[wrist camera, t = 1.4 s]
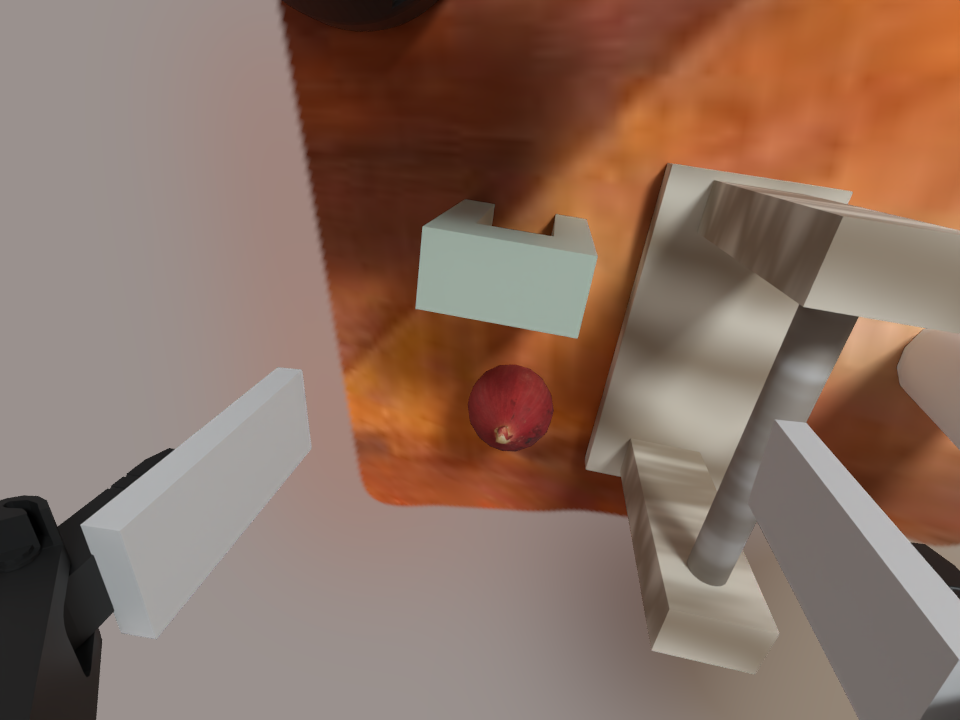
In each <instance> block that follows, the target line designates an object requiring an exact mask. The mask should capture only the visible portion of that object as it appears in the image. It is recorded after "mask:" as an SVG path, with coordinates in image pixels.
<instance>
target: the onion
mask: <svg viewBox="0 0 960 720" xmlns="http://www.w3.org/2000/svg"><path fill="white" fill-rule="evenodd" d="M468 410H469V418H470V422H471V425H472V426H473V428H474V430H475V431H476V433H477V435H478V436H479V437H480V438H481V439H482V440H483V441H484V442H486V443H487V444H488V445H489V446H491V447H494V448H496V449H499V450H502V451H518V450H521V449H524V448H527V447H530V446H532V445H533V444H534V443H535V442H537V441H538V440H539V439H540V438H541V437H542V436H543V435H544V434H545V433H546V432H547V430H548V427H549V424H550V422H551V419H552V416H553V411H554V410H553V403H552V396H551V393H550V392H549V390H548V388H547V386H546V385H545V383H544V381H543V379H542V378H541V377H540V376H538V375H537V374H536V373H535V372H533V371H532V370H531V369H528V368H525V367H522V366H518V365H499V366H497V367H495V368H493V369H490V370H488V371H486V372H485V373H484V374H483V375H482V376H481V377H480V379H479V380H478V381H477V382H476V383H475V385H474V386H473V389H472V392H471V394H470V397H469V401H468Z"/></svg>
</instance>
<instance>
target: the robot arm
mask: <svg viewBox="0 0 960 720" xmlns="http://www.w3.org/2000/svg"><path fill="white" fill-rule="evenodd" d="M282 1H284V2H285V3H286V4H288V5H289V6H291V7H293V8H294V9H296V10H298V11H300V12H301V13H304V14H306V15H308V16H310V17H312V18H314V19H316V20H318V21H320V22H322V23H325V24H327V25H330V26H333V27H336V28H340V29H345V30H350V31H378V30H384V29H388V28H392V27H395V26H398V25H401V24H403V23H406V22H408V21H410V20H412V19H414V18H415V17H417V16H419V15H420V14H422V13H423V12H425V11H426V10H428V9H429V8H430V7H431V6H433V5H434V4H435V3H436V2H437V1H438V0H282ZM310 450H311V439H310V431H309V422H308V414H307V406H306V397H305V389H304V381H303V373H302V370H298V369H289V368H279V367H278V368H276V369H275V370H274V371H273V372H271V373H270V374H269V375H268V376H266V377H265V378H264V379H263V380H261V381H260V382H259V383H258V384H256V385H255V386H254V387H253V388H251V389H250V390H249V391H248V392H246V393H245V394H244V395H242V396H241V397H240V398H239V399H237V400H236V401H235V402H234V403H233V404H231V405H230V406H229V407H227V408H226V409H225V410H224V411H222V412H221V413H220V414H219V415H218V416H216V417H215V418H214V419H213V420H211V421H210V422H209V423H208V424H206V425H205V426H204V427H202V428H201V429H200V430H199V431H197V432H196V433H195V434H194V435H193V436H191V437H190V438H189V439H188V440H186V441H185V442H184V443H182V444H181V445H180V446H179V447H177V448H176V449H171V448H169V449H167V450H164V451H162V452H160V453H158V454H156V455H154V456H152V457H150V458H148V459H146V460H144V461H143V462H142V463H140V464H139V465H138V466H136V467H135V468H134V469H132V470H131V471H130V472H129V473H127V476H126V477H122V478H121V479H119V480H118V481H117V482H115V484H113V485H112V486H111V489H107V490H105V491H104V492H102V493H101V494H100V495H98V496H97V497H96V498H95V499H93V500H92V501H91V502H89V503H88V504H87V505H85V506H84V507H83V508H82V509H80V510H79V511H78V512H76V513H75V514H74V515H72V516H71V517H70V518H68V519H67V520H66V521H65V522H63V523H62V524H61V525H59V526H58V527H57V525H56V522H55V520H54V517H53V515H52V512H51V510H50V507H49V505H48V502H47V500H44V499H43V498H41V497H38V496H18V497H12V498H7V499H3V500H1V501H0V720H96V713H97V700H98V688H99V674H100V662H101V660H100V659H101V648H102V638H101V634H100V631H99V629H98V627H99V626H100V625H101V624H102V623H103V622H104V621H105V620H106V619H107V618H108V617H109V616H110V615H111V614H112V613H114V615H115V618H116V621H117V623H118V626H119V628H120V631H121V633H124V634H129V635H135V636H140V637H147V638H151V639H157V638H158V637H159V636H160V634H161V633H162V632H163V631H164V629H165V628H166V627H167V626H168V625H169V623H170V622H171V621H172V619H173V618H174V617H175V616H176V615H177V614H178V612H179V611H180V610H181V609H182V607H183V606H184V605H185V604H186V602H187V601H188V600H189V599H190V598H191V596H192V595H193V594H194V593H195V591H196V590H197V589H198V588H199V586H200V585H201V584H202V583H203V581H204V580H205V579H206V578H207V577H208V575H209V574H210V573H211V572H212V570H213V569H214V568H215V567H216V565H217V564H218V563H219V562H220V560H221V559H222V558H223V557H224V556H225V554H226V553H227V552H228V551H229V550H230V548H231V547H232V546H233V545H234V543H235V542H236V541H237V540H238V538H239V537H240V536H241V535H242V534H243V532H244V531H245V530H246V529H247V527H248V526H249V525H250V524H251V522H252V521H253V520H254V519H255V517H256V516H257V515H258V514H259V513H260V511H261V510H262V509H263V508H264V506H265V505H266V504H267V503H268V502H269V500H270V499H271V498H272V497H273V495H274V494H275V493H276V492H277V490H278V489H279V488H280V487H281V485H282V484H283V483H284V482H285V481H286V479H287V478H288V477H289V476H290V474H291V473H292V472H293V471H294V469H295V468H296V467H297V466H298V464H299V463H300V462H301V461H302V459H303V458H304V457H305V456H306V455H307V453H308V452H309V451H310ZM747 503H748V505H749V507H750V509H751V511H752V513H753V515H754V516H755V518H756V520H757V522H758V524H759V526H760V528H761V530H762V532H763V534H764V536H765V538H766V540H767V542H768V543H769V546H770V548H771V549H772V551H773V553H774V555H775V557H776V559H777V561H778V563H779V565H780V567H781V569H782V571H783V573H784V575H785V577H786V579H787V581H788V582H789V584H790V586H791V588H792V590H793V592H794V594H795V596H796V598H797V600H798V602H799V604H800V606H801V608H802V609H803V611H804V614H805V616H806V617H807V619H808V621H809V623H810V625H811V627H812V629H813V631H814V633H815V635H816V637H817V639H818V641H819V643H820V644H821V646H822V649H823V650H824V652H825V654H826V656H827V658H828V660H829V662H830V664H831V666H832V668H833V670H834V672H835V674H836V676H837V677H838V680H839V682H840V683H841V685H842V687H843V689H844V691H845V693H846V695H847V697H848V699H849V701H850V703H851V705H852V707H853V709H854V711H855V712H856V715H857V717H858V718H859V720H960V571H959V570H958V569H957V568H956V566H954V565H953V564H952V563H950V562H949V561H947V560H946V559H945V558H943V557H942V556H941V555H939V554H938V553H936V552H935V551H934V550H932V549H931V548H930V547H928V546H927V545H925V544H918V543H911V542H909V541H908V539H907V538H906V537H905V536H904V535H903V534H902V532H901V531H900V530H899V529H898V528H897V527H896V526H895V524H894V523H893V522H892V521H891V520H890V519H889V518H888V516H887V515H886V514H885V513H884V512H883V511H882V509H881V508H880V507H879V506H878V505H877V504H876V503H875V501H874V500H873V499H872V498H871V497H870V496H869V495H868V493H867V492H866V491H865V490H864V489H863V488H862V486H861V485H860V484H859V483H858V482H857V481H856V480H855V478H854V477H853V476H852V475H851V474H850V473H849V472H848V470H847V469H846V468H845V467H844V466H843V465H842V463H841V462H840V461H839V460H838V459H837V458H836V457H835V455H834V454H833V453H832V452H831V451H830V450H829V449H828V447H827V446H826V445H825V444H824V443H823V442H822V440H821V439H820V438H819V437H818V436H817V435H816V434H815V432H814V431H813V430H812V429H811V428H810V427H809V426H808V424H807V423H804V422H795V421H785V420H776V419H775V421H774V424H773V427H772V430H771V433H770V436H769V439H768V442H767V445H766V448H765V451H764V454H763V457H762V460H761V463H760V466H759V469H758V472H757V475H756V478H755V481H754V484H753V487H752V490H751V493H750V496H749V499H748V502H747Z"/></svg>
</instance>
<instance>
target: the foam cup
mask: <svg viewBox="0 0 960 720" xmlns="http://www.w3.org/2000/svg"><path fill="white" fill-rule="evenodd" d="M897 372H898V377H899V383H900V386H901V387H902V388H903V389H904V390H905V392H906V393H907V394H908V395H909V396H910V397H911V398H912V399H913V400H914V401H915V402H916V403H917V404H918V406H919V407H920V408H921V409H922V410H923V411H924V412H925V413H926V414H927V415H928V416H929V417H930V418H931V420H932V421H933V422H934V423H935V424H936V425H937V426H938V427H939V428H940V429H941V430H942V431H943V432H944V434H945V435H946V436H947V437H948V438H949V439H950V440H951V441H952V442H953V443H954V444H955V445H956V446H957V448H958V449H959V450H960V334H957V333H951V332H945V331H939V330H934V329H928V328H925V329H923V330H922V331H921V332H920V333H919V334H918V335H917V336H916V337H915V338H914V339H913V340H912V341H911V342H910V343H909V344H908V345H907V346H906V347H905V348H904V350H903V353H902V355H901V358H900V360H899V363H898V365H897Z"/></svg>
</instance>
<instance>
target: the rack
mask: <svg viewBox="0 0 960 720" xmlns="http://www.w3.org/2000/svg"><path fill="white" fill-rule="evenodd" d="M852 193H853V192H851V191H846V190H840V189H834V188H828V187H821V186H815V185H808V184H802V183H795V182H789V181H782V180H776V179H769V178H763V177H756V176H750V175H743V174H737V173H730V172H724V171H718V170H711V169H705V168H698V167H692V166H685V165H679V164H672V163H668V164H667V167H666V171H665V174H664V178H663V181H662V185H661V188H660V192H659V196H658V199H657V203H656V206H655V210H654V213H653V217H652V221H651V224H650V228H649V231H648V235H647V238H646V242H645V245H644V249H643V253H642V256H641V260H640V263H639V267H638V270H637V274H636V278H635V281H634V285H633V288H632V292H631V295H630V299H629V303H628V306H627V310H626V313H625V317H624V320H623V324H622V327H621V331H620V335H619V338H618V342H617V345H616V349H615V352H614V356H613V360H612V363H611V367H610V370H609V374H608V377H607V381H606V384H605V388H604V392H603V395H602V399H601V402H600V406H599V409H598V413H597V417H596V420H595V424H594V427H593V431H592V434H591V438H590V442H589V445H588V449H587V452H586V456H585V467H586V470H590V471H595V472H600V473H605V474H610V475H615V476H619V477H621V479H622V485H623V491H624V497H625V502H626V508H627V514H628V519H629V525H630V531H631V537H632V542H633V548H634V554H635V560H636V565H637V570H638V577H639V583H640V588H641V594H642V600H643V606H644V611H645V617H646V623H647V629H648V634H649V639H650V646H651V650H652V651H656V652H661V653H665V654H669V655H674V656H678V657H682V658H686V659H691V660H695V661H700V662H704V663H708V664H713V665H717V666H722V667H725V668H730V669H734V670H738V671H743V672H747V673H751V674H756V672H757V670H758V669H759V667H760V665H761V663H762V662H763V660H764V659H765V657H766V655H767V654H768V652H769V650H770V649H771V647H772V646H773V644H774V642H775V640H776V639H777V637H778V636H779V631H778V629H777V627H776V624H775V622H774V620H773V618H772V615H771V613H770V611H769V608H768V606H767V604H766V602H765V599H764V597H763V595H762V593H761V590H760V588H759V586H758V583H757V581H756V579H755V577H754V574H753V572H752V570H751V567H750V565H749V563H748V561H747V558H746V556H745V554H744V551H743V548H744V546H745V544H746V542H747V540H748V538H749V536H750V534H751V532H752V530H753V528H754V526H755V524H756V522H757V520H756V518H755V516H754V515H753V513H752V511H751V509H750V507H749V505H748V503H747V502H748V499H749V496H750V493H751V490H752V487H753V484H754V481H755V478H756V475H757V472H758V469H759V466H760V463H761V460H762V457H763V454H764V451H765V448H766V445H767V442H768V439H769V436H770V433H771V430H772V427H773V424H774V421H775V419H776V420H785V421H795V422H804V423H806V422H807V420H808V418H809V416H810V414H811V412H812V410H813V408H814V406H815V404H816V402H817V400H818V398H819V396H820V394H821V392H822V389H823V387H824V385H825V383H826V381H827V379H828V377H829V375H830V373H831V371H832V369H833V367H834V365H835V363H836V361H837V359H838V357H839V355H840V353H841V351H842V349H843V347H844V345H845V343H846V341H847V339H848V337H849V335H850V333H851V331H852V329H853V327H854V325H855V323H856V321H857V319H858V317H864V318H870V319H876V320H882V321H887V322H893V323H899V324H905V325H911V326H916V327H922V328H928V329H934V330H939V331H945V332H951V333H957V334H960V231H959V230H955V229H951V228H946V227H942V226H938V225H934V224H929V223H925V222H921V221H917V220H912V219H908V218H904V217H900V216H895V215H891V214H887V213H882V212H878V211H874V210H870V209H865V208H861V207H857V206H853V205H848V202H849V200H850V198H851V195H852Z"/></svg>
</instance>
